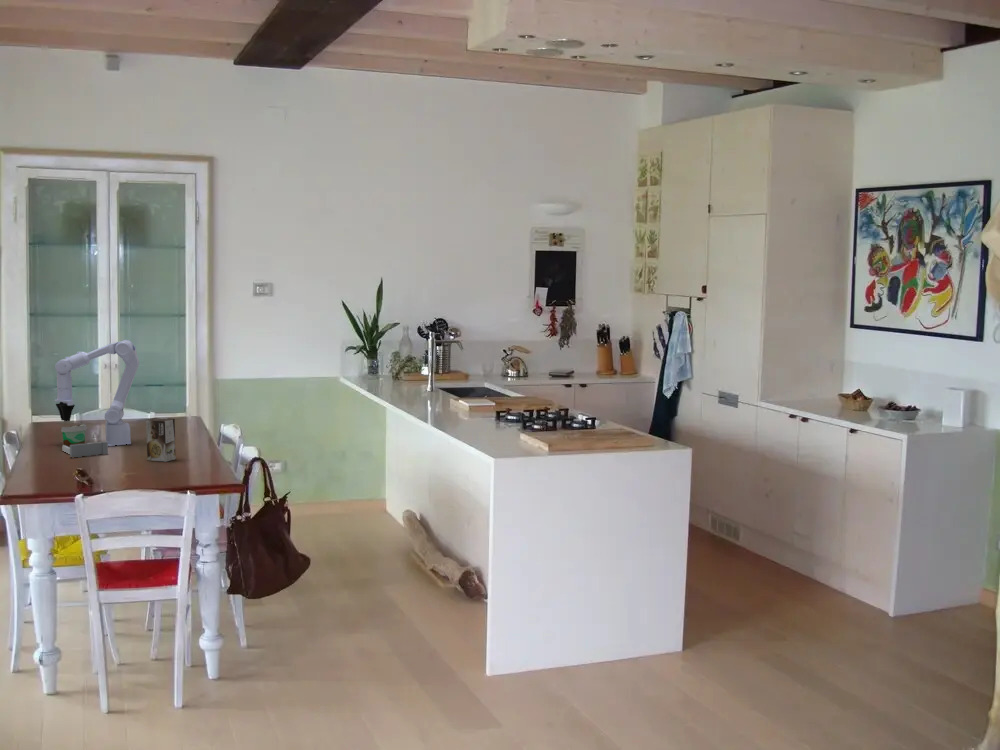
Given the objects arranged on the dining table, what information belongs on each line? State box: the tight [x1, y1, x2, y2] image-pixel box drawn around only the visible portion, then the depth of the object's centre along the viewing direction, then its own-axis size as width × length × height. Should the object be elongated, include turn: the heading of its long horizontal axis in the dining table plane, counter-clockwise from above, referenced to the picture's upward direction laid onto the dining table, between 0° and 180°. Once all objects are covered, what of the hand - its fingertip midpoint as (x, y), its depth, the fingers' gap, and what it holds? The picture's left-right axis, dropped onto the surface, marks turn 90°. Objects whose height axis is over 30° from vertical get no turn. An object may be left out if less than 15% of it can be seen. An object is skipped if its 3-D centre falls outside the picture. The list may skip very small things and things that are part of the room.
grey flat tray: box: [61, 440, 109, 458], centre depth 416 cm, size 14×16×5 cm
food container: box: [60, 422, 88, 447], centre depth 424 cm, size 12×6×10 cm, turn 166°
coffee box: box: [145, 417, 176, 462], centre depth 404 cm, size 9×6×16 cm
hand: (65, 420), depth 431 cm, fingers open, 3 cm apart
